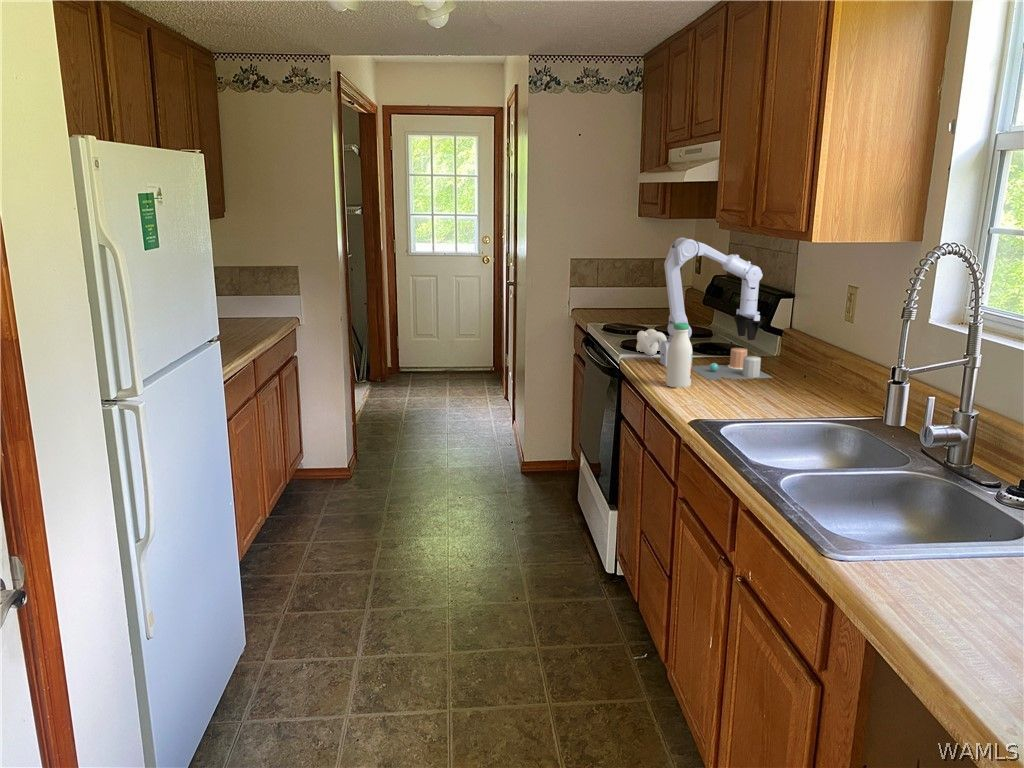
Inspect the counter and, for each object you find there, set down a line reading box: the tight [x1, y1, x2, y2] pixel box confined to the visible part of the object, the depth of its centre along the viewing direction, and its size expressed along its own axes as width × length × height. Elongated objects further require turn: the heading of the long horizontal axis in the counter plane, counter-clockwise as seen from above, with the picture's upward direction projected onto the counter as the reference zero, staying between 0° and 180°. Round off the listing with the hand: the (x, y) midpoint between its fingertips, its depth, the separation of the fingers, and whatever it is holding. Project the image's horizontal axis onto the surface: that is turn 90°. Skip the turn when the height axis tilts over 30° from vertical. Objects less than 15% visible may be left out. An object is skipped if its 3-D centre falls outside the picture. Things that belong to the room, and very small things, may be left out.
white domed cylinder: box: [742, 355, 762, 377], centre depth 246 cm, size 5×5×6 cm
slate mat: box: [692, 364, 774, 381], centre depth 252 cm, size 22×20×1 cm
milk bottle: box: [665, 322, 693, 389], centre depth 233 cm, size 8×8×20 cm
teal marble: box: [709, 362, 719, 372], centre depth 252 cm, size 3×3×3 cm
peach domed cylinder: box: [729, 347, 748, 368], centre depth 258 cm, size 5×5×6 cm
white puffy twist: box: [635, 328, 668, 357], centre depth 281 cm, size 11×12×9 cm
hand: (746, 338), depth 263 cm, fingers open, 7 cm apart
